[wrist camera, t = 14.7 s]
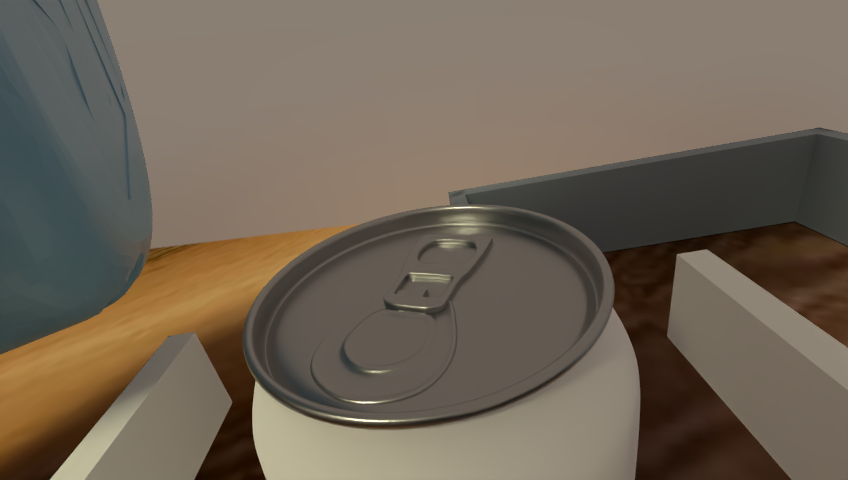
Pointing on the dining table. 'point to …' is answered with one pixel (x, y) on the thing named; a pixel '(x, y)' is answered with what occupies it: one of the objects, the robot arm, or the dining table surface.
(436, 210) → the can
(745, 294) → the robot arm
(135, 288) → the dining table surface
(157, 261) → the dining table surface
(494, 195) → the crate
